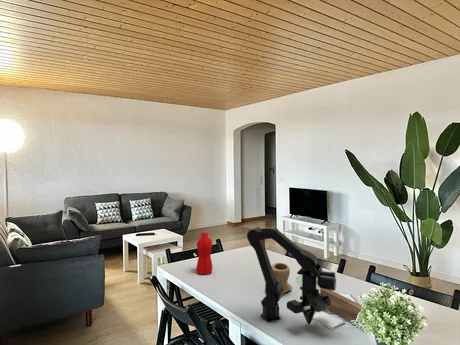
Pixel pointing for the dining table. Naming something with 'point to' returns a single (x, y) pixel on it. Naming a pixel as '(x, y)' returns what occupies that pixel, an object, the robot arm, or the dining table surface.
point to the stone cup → (282, 274)
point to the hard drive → (328, 320)
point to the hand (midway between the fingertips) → (308, 323)
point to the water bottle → (204, 254)
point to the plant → (299, 281)
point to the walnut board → (342, 305)
